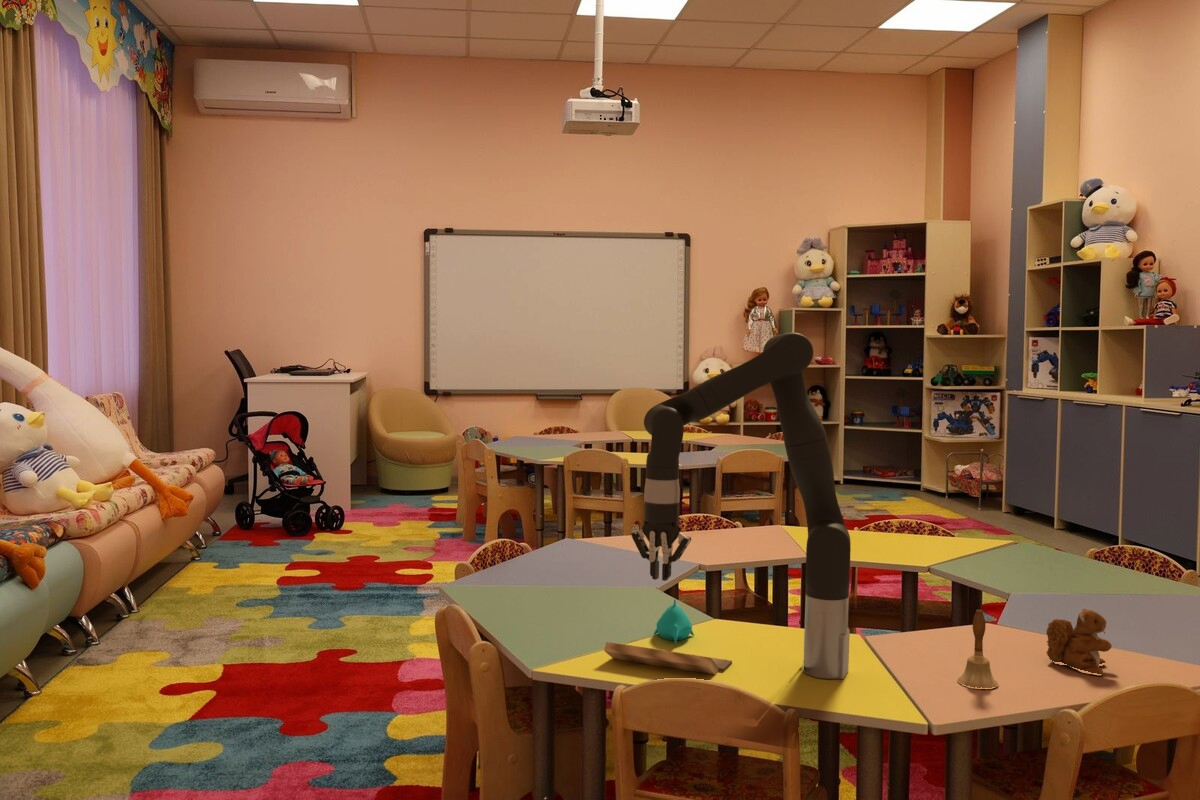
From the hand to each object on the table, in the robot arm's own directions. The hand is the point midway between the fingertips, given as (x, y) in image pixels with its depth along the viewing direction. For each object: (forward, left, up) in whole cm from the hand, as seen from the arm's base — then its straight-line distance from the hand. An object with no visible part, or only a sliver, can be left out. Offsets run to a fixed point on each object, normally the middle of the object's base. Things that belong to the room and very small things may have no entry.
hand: (660, 579), depth 218 cm
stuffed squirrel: (-82, -49, -21) cm, 98 cm away
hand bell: (-63, -26, -21) cm, 72 cm away
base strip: (0, -8, -21) cm, 23 cm away
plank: (0, -1, -19) cm, 19 cm away
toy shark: (+5, -23, -21) cm, 32 cm away
